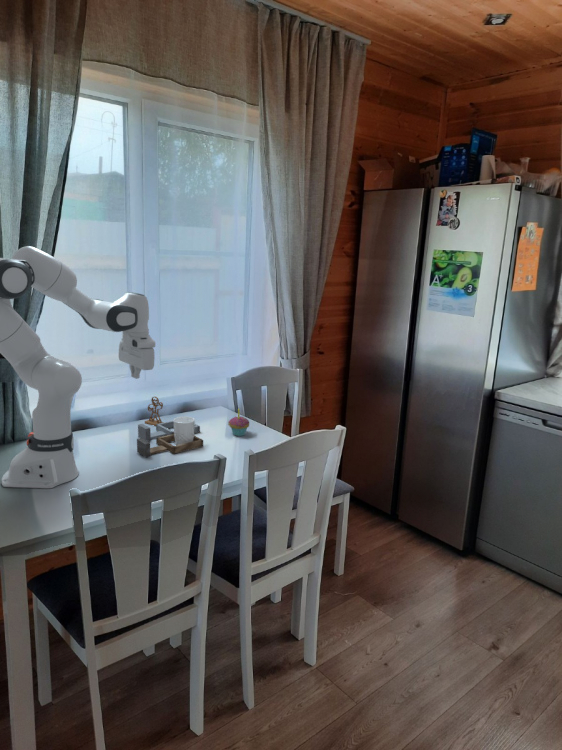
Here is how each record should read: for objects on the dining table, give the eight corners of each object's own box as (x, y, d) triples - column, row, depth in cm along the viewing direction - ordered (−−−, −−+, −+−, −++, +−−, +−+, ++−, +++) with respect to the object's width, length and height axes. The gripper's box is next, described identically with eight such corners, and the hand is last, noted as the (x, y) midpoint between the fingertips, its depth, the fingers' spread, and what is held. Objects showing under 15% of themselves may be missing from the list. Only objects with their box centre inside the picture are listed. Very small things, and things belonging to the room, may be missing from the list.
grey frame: (149, 443, 209) (149, 431, 208) (134, 434, 217) (134, 422, 216) (199, 431, 223) (199, 420, 222) (183, 424, 232) (183, 412, 231)
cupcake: (248, 438, 220) (249, 409, 217) (226, 437, 220) (227, 408, 217) (249, 430, 228) (250, 403, 225) (229, 429, 228) (229, 402, 225)
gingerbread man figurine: (144, 423, 232) (143, 395, 229) (150, 421, 235) (150, 393, 232) (160, 427, 227) (159, 399, 224) (166, 425, 231) (166, 397, 228)
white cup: (183, 450, 204) (183, 424, 202) (169, 444, 209) (169, 419, 207) (198, 444, 210) (199, 419, 208) (184, 439, 215) (184, 415, 213)
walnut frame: (149, 459, 194) (149, 446, 192) (133, 449, 202) (132, 436, 201) (203, 446, 208) (203, 433, 207) (185, 437, 217) (185, 425, 216)
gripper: (114, 335, 198) (114, 372, 201) (140, 344, 183) (140, 384, 186) (130, 334, 202) (130, 371, 205) (158, 343, 188) (157, 382, 190)
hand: (135, 377), depth 196 cm, fingers closed
